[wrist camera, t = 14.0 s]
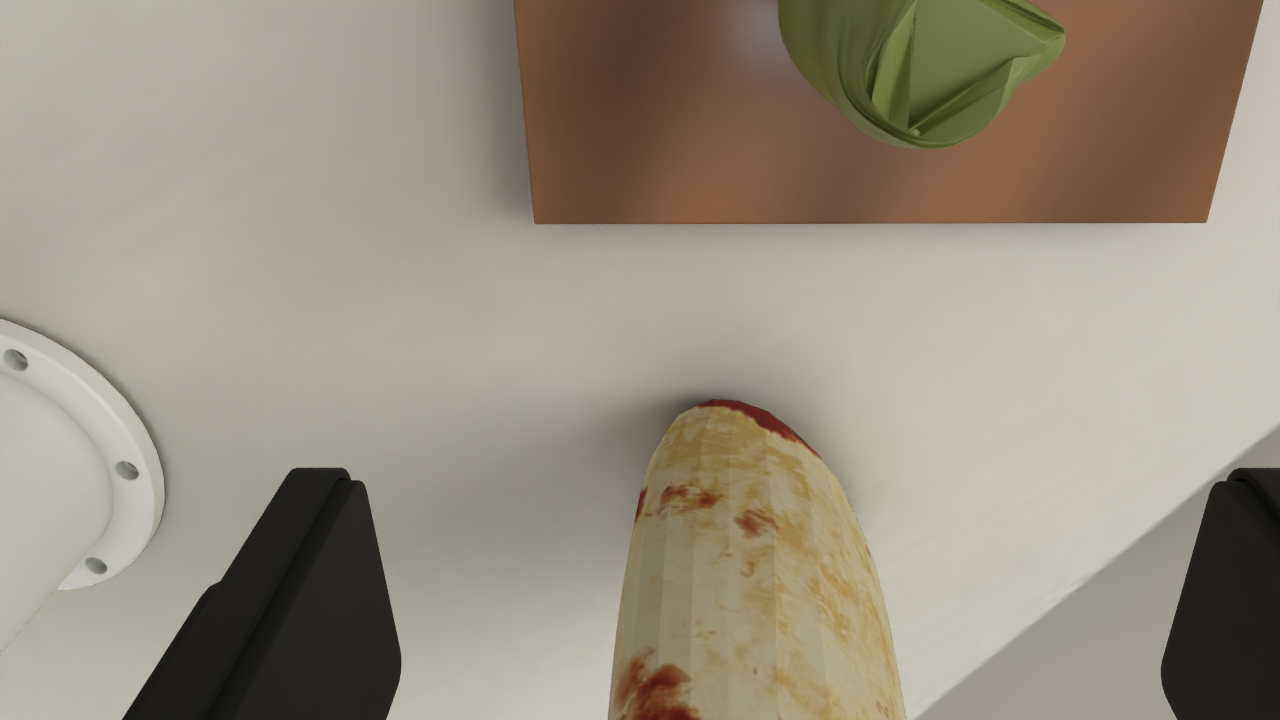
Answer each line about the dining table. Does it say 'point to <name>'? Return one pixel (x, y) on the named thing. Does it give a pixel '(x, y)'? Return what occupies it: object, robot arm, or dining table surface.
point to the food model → (749, 584)
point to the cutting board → (846, 156)
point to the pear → (919, 61)
